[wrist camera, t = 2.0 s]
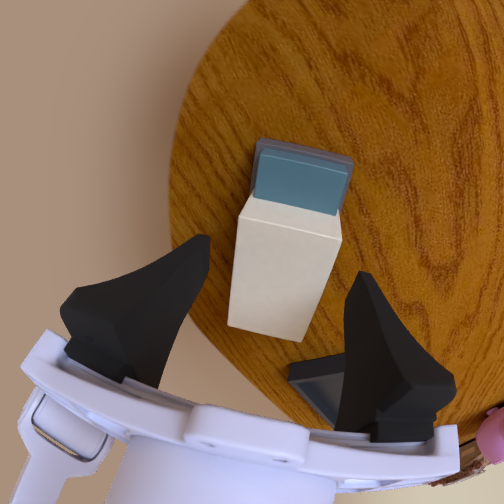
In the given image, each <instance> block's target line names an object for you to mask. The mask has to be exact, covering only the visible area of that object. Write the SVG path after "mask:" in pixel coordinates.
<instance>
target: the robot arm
mask: <svg viewBox="0 0 504 504" xmlns="http://www.w3.org/2000/svg"><path fill="white" fill-rule="evenodd" d="M209 258H210V236H206V235H202V234H197V235H196V236H194V237H193V238H191V239H190V240H188V241H187V242H185V243H184V244H182V245H181V246H179V247H178V248H176V249H174V250H173V251H171V252H170V253H168V254H167V255H165V256H163V257H161V258H160V259H158V260H157V261H155V262H153V263H151V264H149V265H147V266H145V267H143V268H141V269H139V270H136V271H134V272H131V273H129V274H126V275H124V276H121V277H119V278H115V279H112V280H109V281H106V282H102V283H98V284H94V285H88V286H83V287H78V288H76V289H75V290H74V291H73V292H72V294H71V295H70V296H69V297H68V298H67V300H66V301H65V302H64V303H63V304H62V306H61V307H60V315H61V318H62V320H63V322H64V324H65V326H66V328H67V329H68V331H69V333H70V335H71V339H70V340H69V341H67V340H66V339H65V338H63V337H62V336H60V335H58V334H57V333H55V332H53V331H51V330H50V329H46V330H45V332H44V333H43V334H42V336H41V337H40V338H39V340H38V341H37V343H36V344H35V345H34V347H33V348H32V350H31V351H30V352H29V354H28V356H27V357H26V358H25V360H24V361H23V363H22V364H21V366H20V367H21V369H22V370H23V371H24V372H25V373H26V375H27V376H28V377H29V378H30V379H31V380H32V381H33V382H34V383H35V384H36V387H35V388H34V390H33V391H32V393H31V395H30V396H29V398H28V400H27V402H26V404H25V405H24V407H23V409H22V413H21V415H20V417H19V419H18V421H17V423H18V427H17V428H18V431H19V433H20V436H21V438H22V440H23V442H24V444H25V446H26V448H27V450H28V452H29V455H28V457H27V459H26V461H25V464H24V466H23V468H22V471H21V473H20V475H19V477H18V479H17V482H16V484H15V487H14V489H13V492H12V494H11V497H10V499H9V502H8V504H56V502H57V500H58V497H59V495H60V493H61V490H62V488H63V486H64V483H65V481H66V479H67V478H69V477H79V476H90V475H93V474H94V473H95V472H96V471H97V469H98V467H99V465H100V463H101V462H102V461H103V460H104V459H105V457H106V456H107V455H108V453H109V452H110V450H111V448H112V446H113V443H114V440H115V438H116V439H118V440H120V441H122V442H124V443H126V444H128V448H127V450H126V452H125V454H124V457H123V459H122V461H121V464H120V466H119V468H118V471H117V473H116V476H115V478H114V480H113V482H112V485H111V488H110V490H109V492H108V495H107V497H106V500H105V502H104V504H334V497H335V493H355V492H356V493H357V492H371V491H381V490H390V489H398V488H404V487H412V486H418V485H424V484H428V483H431V482H434V481H436V480H439V479H442V478H445V477H447V476H450V475H452V474H455V473H457V472H459V471H460V458H459V442H458V431H457V425H456V424H452V425H441V426H437V427H434V428H433V422H434V421H436V419H437V417H436V413H437V412H438V411H439V410H441V409H442V408H443V407H445V406H446V405H448V404H449V403H450V402H451V401H452V400H453V399H454V397H455V396H456V393H457V390H456V385H455V380H454V375H453V374H452V373H450V372H449V371H448V370H447V369H445V368H444V367H443V366H442V365H440V364H439V363H438V362H437V361H436V360H435V359H434V358H433V357H432V356H430V355H429V354H428V353H427V352H426V351H425V350H424V349H423V347H422V346H421V345H420V344H419V343H418V342H417V341H416V340H415V339H414V337H413V336H412V335H411V334H410V333H409V331H408V330H407V329H406V327H405V326H404V325H403V323H402V322H401V321H400V319H399V318H398V316H397V315H396V313H395V312H394V310H393V309H392V307H391V306H390V304H389V303H388V301H387V299H386V298H385V296H384V294H383V293H382V291H381V289H380V288H379V286H378V284H377V283H376V281H375V279H374V278H373V276H372V275H371V273H367V272H363V271H359V272H358V274H357V276H356V279H355V281H354V283H353V285H352V287H351V289H350V291H349V294H348V296H347V298H346V300H345V307H344V341H345V369H344V379H343V387H342V393H341V400H340V405H339V410H338V415H337V420H336V424H335V428H334V431H329V430H320V429H312V428H306V427H304V426H302V425H301V424H297V423H293V422H289V421H284V420H278V419H273V418H268V417H263V416H259V415H254V414H250V413H245V412H241V411H237V410H233V409H229V408H225V407H222V406H217V405H212V404H198V403H195V402H192V401H189V400H186V399H183V398H180V397H177V396H174V395H172V394H169V393H166V392H163V391H161V390H158V387H159V384H160V380H161V377H162V374H163V370H164V368H165V365H166V362H167V359H168V356H169V354H170V351H171V348H172V346H173V343H174V341H175V338H176V336H177V333H178V331H179V328H180V326H181V324H182V322H183V320H184V318H185V316H186V315H187V313H188V311H189V309H190V308H191V306H192V304H193V302H194V300H195V299H196V297H197V295H198V293H199V291H200V290H201V288H202V286H203V284H204V281H205V279H206V276H207V274H208V271H209ZM32 424H34V425H35V426H36V427H37V428H39V429H40V430H41V431H43V432H44V433H46V434H47V435H48V436H50V437H51V438H53V439H54V440H56V441H57V442H59V443H60V444H62V445H63V446H65V447H66V448H68V449H69V450H71V451H73V452H74V453H76V454H78V455H73V454H70V453H68V452H67V451H65V450H64V449H62V448H61V447H59V446H57V445H56V444H54V443H53V442H52V441H50V440H49V439H47V438H46V437H44V436H43V435H42V434H40V433H39V432H37V431H36V430H35V429H34V428H33V426H32Z"/></svg>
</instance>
